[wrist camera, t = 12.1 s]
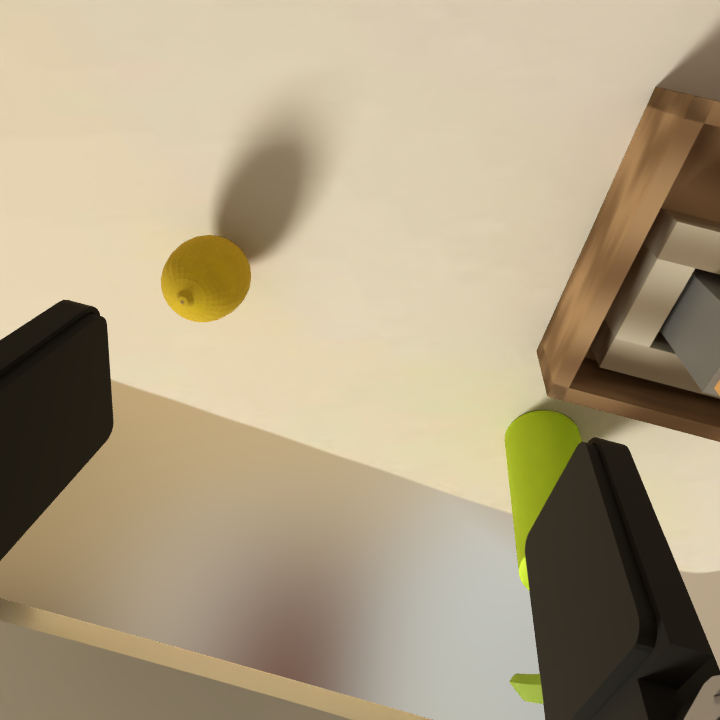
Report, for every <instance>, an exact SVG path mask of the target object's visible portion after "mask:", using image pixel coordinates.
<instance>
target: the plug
mask: <svg viewBox="0 0 720 720" xmlns="http://www.w3.org/2000/svg"><path fill="white" fill-rule="evenodd" d="M660 331H661V333H662V334H663V336H664V337H665V339H666V340H667V342H668V343H669V344H670V346H671V347H672V349H673V350H674V352H675V353H676V355H677V356H678V357H679V359H680V360H681V362H682V363H683V365H684V366H685V368H686V369H687V370H688V372H689V373H690V375H691V376H692V378H693V379H694V381H695V382H696V384H697V385H698V386H699V388H700V389H701V391H702V392H704V393H708V394H712V395H715V396H719V397H720V274H716V273H712V272H708V271H704V270H700V269H696V268H695V270H694V272H693V273H692V275H691V277H690V278H689V280H688V282H687V284H686V285H685V287H684V289H683V290H682V292H681V294H680V296H679V297H678V299H677V301H676V303H675V304H674V306H673V308H672V309H671V311H670V313H669V315H668V316H667V318H666V320H665V321H664V323H663V325H662V327H661V328H660Z"/></svg>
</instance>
